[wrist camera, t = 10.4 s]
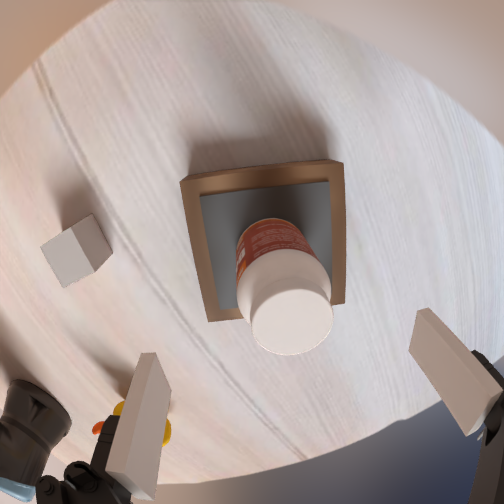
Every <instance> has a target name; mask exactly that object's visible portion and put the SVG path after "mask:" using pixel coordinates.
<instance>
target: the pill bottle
mask: <svg viewBox="0 0 504 504" xmlns="http://www.w3.org/2000/svg"><path fill="white" fill-rule="evenodd" d="M236 283H237V301H238V306H239V309H240V312H241V314H242V316H243V317H244V319H245V320H246V321H247V322H248V323H249V324H250V325H251V330H252V334H253V336H254V338H255V340H256V341H257V343H258V344H259V345H260V346H261V347H263V348H264V349H265V350H267V351H269V352H272V353H275V354H279V355H295V354H300V353H303V352H306V351H308V350H310V349H312V348H314V347H316V346H317V345H318V344H320V343H321V342H322V341H323V340H324V339H325V338H326V336H327V335H328V334H329V332H330V330H331V328H332V324H333V318H334V314H333V309H332V306H331V304H330V298H331V284H330V280H329V277H328V274H327V272H326V270H325V269H324V267H323V265H322V264H321V262H320V261H319V259H318V258H317V256H316V255H315V253H314V252H313V250H312V248H311V247H310V245H309V244H308V242H307V241H306V239H305V238H304V236H303V234H302V233H301V232H300V231H299V229H298V228H296V227H295V226H294V225H293V224H291V223H290V222H288V221H285V220H282V219H277V218H269V219H263V220H260V221H258V222H256V223H254V224H252V225H251V226H249V227H248V228H247V229H246V230H245V231H244V233H243V234H242V235H241V237H240V239H239V241H238V244H237V249H236Z"/></svg>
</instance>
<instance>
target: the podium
mask: <svg viewBox="0 0 504 504" xmlns="http://www.w3.org/2000/svg"><path fill="white" fill-rule="evenodd" d="M180 187H181V193H182V199H183V204H184V210H185V215H186V221H187V226H188V231H189V236H190V242H191V247H192V251H193V256H194V261H195V266H196V271H197V275H198V280H199V284H200V289H201V293H202V298H203V302H204V306H205V311H206V315H207V319H208V322H215V321H224V320H233V319H242V318H244V317H243V316H242V314H241V312H240V309H239V306H238V301H237V283H236V249H237V244H238V241H239V239H240V237H241V235H242V234H243V233H244V231H245V230H246V229H247V228H248V227H249V226H251V225H252V224H254V223H256V222H258V221H260V220H263V219H269V218H277V219H282V220H285V221H288V222H290V223H291V224H293V225H294V226H295V227H296V228H298V229H299V231H300V232H301V233H302V234H303V236H304V238H305V239H306V241H307V242H308V244H309V245H310V247H311V248H312V250H313V252H314V253H315V255H316V256H317V258H318V259H319V261H320V262H321V264H322V265H323V267H324V269H325V270H326V272H327V274H328V277H329V280H330V284H331V298H330V304H331V306H332V305H338V304H344V303H345V287H346V205H345V181H344V164H343V163H342V162H338V161H334V160H330V159H328V160H314V161H301V162H290V163H280V164H270V165H261V166H253V167H244V168H237V169H229V170H222V171H215V172H208V173H202V174H196V175H190V176H187V177H185V178H184V179H182V180H181V181H180Z"/></svg>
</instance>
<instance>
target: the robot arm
mask: <svg viewBox="0 0 504 504" xmlns="http://www.w3.org/2000/svg"><path fill="white" fill-rule="evenodd" d="M409 352H410V354H411V355H412V357H413V358H414V359H415V361H416V362H417V363H418V365H419V366H420V368H421V369H422V371H423V372H424V373H425V375H426V376H427V378H428V379H429V381H430V382H431V384H432V385H433V386H434V388H435V389H436V391H437V392H438V394H439V395H440V397H441V398H442V400H443V401H444V403H445V404H446V406H447V407H448V409H449V410H450V412H451V414H452V415H453V417H454V418H455V420H456V421H457V423H458V424H459V426H460V428H461V429H462V431H463V433H464V434H465V436H468V435H470V434H471V433H473V432H475V431H476V430H478V429H479V427H480V426H481V425H482V423H483V422H484V423H485V425H486V426H485V428H484V429H483V430H482V432H481V433H480V435H479V436H478V438H477V440H479V439H480V438H481V437H482V435H483V438H482V444H481V450H480V456H479V461H478V466H477V470H476V474H475V479H474V483H473V487H472V490H471V494H470V497H469V501H468V504H504V378H503V377H502V376H501V375H500V373H499V372H498V371H497V370H496V369H495V368H494V367H493V365H492V364H491V363H489V361H488V360H487V359H486V357H485V356H484V355H483V354H481V353H479V352H478V351H476V350H473V351H471V352H470V351H469V349H468V348H467V347H466V346H465V345H464V344H463V343H462V342H461V341H460V340H459V339H458V338H457V336H456V335H455V334H454V333H453V332H452V331H451V330H450V329H449V328H448V327H447V326H446V325H445V324H444V323H443V322H442V321H441V320H440V319H439V318H438V317H437V316H436V315H435V314H434V313H433V312H432V311H431V309H430V308H425V309H422V310H418V311H417V315H416V320H415V325H414V329H413V334H412V338H411V342H410V347H409ZM171 392H172V390H171V388H170V386H169V383H168V381H167V379H166V376H165V374H164V372H163V369H162V367H161V364H160V362H159V360H158V357H157V355H156V353H141V355H140V358H139V361H138V364H137V367H136V370H135V373H134V376H133V379H132V382H131V385H130V388H129V391H128V394H127V397H126V400H125V403H124V406H123V409H122V413H121V416H119V415H110V416H109V417H108V418H107V419H106V421H105V422H104V423H103V426H102V429H101V432H100V435H99V438H98V442H97V444H96V447H95V450H94V453H93V457H92V460H91V463H90V465H89V464H88V463H86V462H84V461H76V462H72V463H71V464H69V465H68V466H67V468H66V469H65V471H64V481H58V480H57V479H56V478H55V477H53V476H51V475H45V476H42V473H43V470H44V468H45V465H46V463H47V460H48V457H49V455H50V452H51V450H52V449H53V448H54V447H55V446H56V445H57V444H58V443H59V442H60V440H61V439H62V438H63V437H65V436H66V435H67V434H68V432H69V430H70V427H71V419H70V417H69V415H68V414H67V412H66V411H65V410H64V409H63V407H62V406H61V405H60V404H59V403H58V402H57V401H55V400H54V399H53V398H52V397H51V396H50V395H48V394H47V393H46V392H44V391H43V390H41V389H40V388H38V387H36V386H35V385H33V384H31V383H28V382H26V381H23V380H15V381H13V382H12V384H11V385H10V387H9V388H8V390H7V397H6V401H5V406H4V411H3V415H2V417H1V418H0V490H1V491H2V492H4V493H6V494H8V495H10V496H12V497H14V498H16V499H18V500H20V501H23V502H30V501H31V500H32V499H33V497H34V495H35V493H36V500H37V504H133V503H132V502H131V501H130V500H131V494H132V495H133V496H135V497H136V498H137V499H143V500H151V501H154V500H155V493H156V485H157V478H158V471H159V464H160V457H161V450H162V444H163V438H164V431H165V425H166V420H167V414H168V408H169V402H170V397H171ZM41 476H42V477H41Z"/></svg>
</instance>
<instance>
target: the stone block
mask: <svg viewBox="0 0 504 504" xmlns="http://www.w3.org/2000/svg"><path fill="white" fill-rule="evenodd" d="M40 248H41V250H42V252H43V254H44V256H45V258H46V259H47V261H48V263H49V265H50V267H51V268H52V270H53V272H54V274H55V275H56V277H57V279H58V280H59V282H60V284H61V285H62V287H63V288H64V287H66V286H68V285H70V284H72V283H74V282H76V281H78V280H80V279H82V278H84V277H86V276H88V275H90V274H92V273H94V272H96V271H97V270H98V269H99V267H100V266H101V265H102V264H103V263H104V262H105V261H106V260H107V259H108V258H109V257H110V256H111V255H112V254H113V252H112V250H111V248H110V246H109V245H108V243H107V241H106V239H105V237H104V235H103V233H102V231H101V230H100V228H99V226H98V224H97V222H96V220H95V218H94V216H93V214H91V215H89V216H87V217H86V218H84V219H82V220H81V221H79V222H77V223H76V224H74V225H73V226H71V227H69V228H68V229H66V230H65V231H63V232H62V233H60V234H59V235H57V236H56V237H54V238H53V239H51V240H50V241H48V242H47V243H45V244H44V245H42V246H41V247H40Z"/></svg>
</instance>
